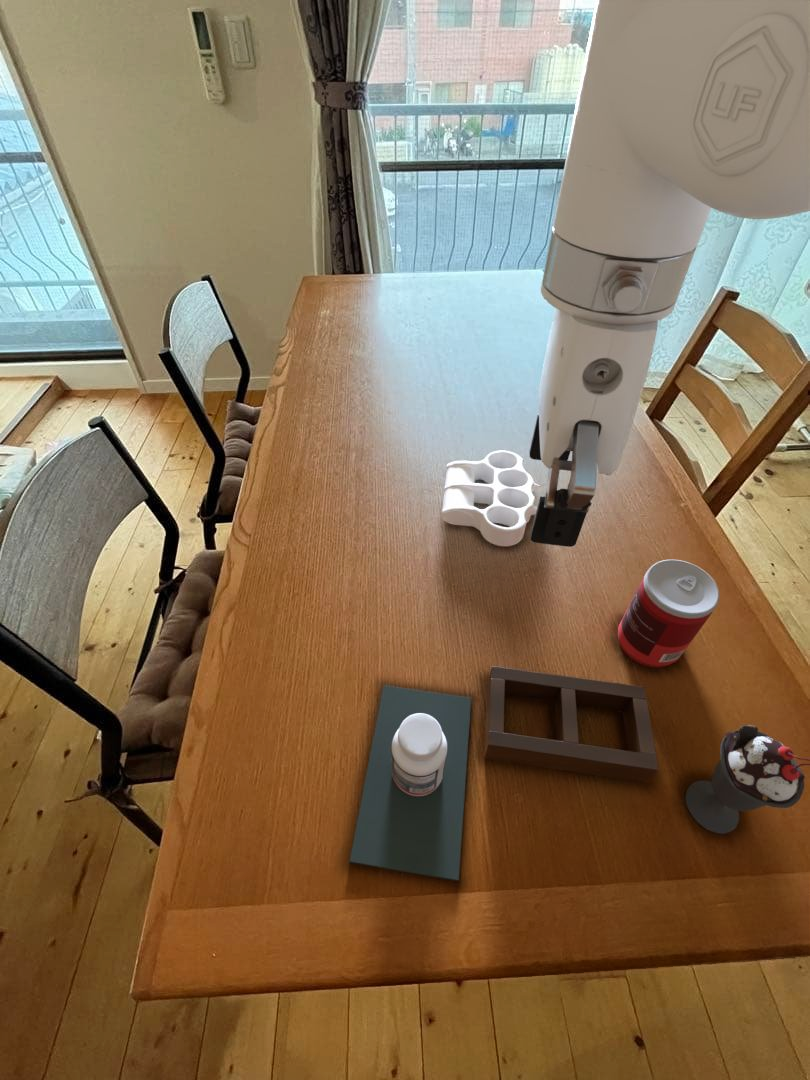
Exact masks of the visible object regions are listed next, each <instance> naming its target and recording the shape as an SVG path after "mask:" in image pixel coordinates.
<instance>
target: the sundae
mask: <svg viewBox="0 0 810 1080" xmlns="http://www.w3.org/2000/svg"><path fill="white" fill-rule="evenodd" d="M719 750H720V753H719V755H720V759H719V761H718V763H717V764H716V766H715V768H714V770H713V773H712V775H711V780H710V781H709V780H697V781H695V782H693V783H691V784H690V785H689V786H688V788H687V790H686V792H685V803H686V807H687V809H688V811H689V814H690V815H691V816H692V818H693V819H694V820H695V821H696V823H698V825H700V826H701V827H703V828H704V829H706V830H707V831H710V832H712V833H716V834H729V833H731V832H732V831H734V830H735V829H736V828H737V826H738V824H739V821H740V814H739V812H748V811H755V810H757V809H759V808H762V807H764V806H768V807H771V808H778V809H788V808H791V807H793V806H794V805H796V804H797V803H798V802H799V801H800V799H801V797H802V795H803V793H804V790H805V778H806V777H805V774H804V773H803V771H802V769H801V767H803V766H810V758H804V757H803V758H802V757H799V756H797V755H795V753H794V751H793V749H792V748H791V747H790V746H785V745H784V743H782V742H780V741H778V740H776V739H774V738H772V737H771V736H769V735H768V734H766V733H764V732H761V731H759V727H758V726H757V725H754V724H753V725H752V724H746V725H745V724H742V725H740V727H739V730H738V729H736V730H734V731H727V732H726V733H725V736H724V737H723V738H722V740H721V743H720V747H719ZM794 758H795V759H798V760H801V761H808V762H809V763H807V762H805V763H804V762H803V763H799V764H798V762H797V761H796V760H795V759H794Z"/></svg>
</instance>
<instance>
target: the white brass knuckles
mask: <svg viewBox="0 0 810 1080" xmlns="http://www.w3.org/2000/svg"><path fill="white" fill-rule="evenodd" d="M524 462H525V460H524V459H523V458H522V457H521V456H520V455H519V454H517V453H515V452H513V451H509V450H495V451H491V452H490V453H489V454H487V455H486V457H485V458H484V459H482V460H479V461H472V460H454V461H451V462H449V463H447V465H446V471H445V482H444V491H443V502H442V510H441V520H442V521H444V522H446V523H447V524H450V525H455V526H463V527H473V528H474V529H476V530H478V531H480V534H481V536H482V537H483V538H484V540H485V541H487V542H488V543H489V544H492V545H494V546H497V547H512V546H514V545H515V546H516V545H517V544H518V543H520V542H521V541H522V540H523V539H524V534H525V530H526V526H527V523H529V522H530V520H531V516H535V515H536V511H537V507H538V506H536V505H535V502H536V497H535V495H534V494H533V492H534V491H535V490H537V489H539V488H540V487H541V485H539V484H537V483H535V481H534V480H533V477H532V475H531V474H530V473H528V472H527V471H526V470H525V468H524ZM478 480H479V481H481V480H482V481H483V482H484V483H478V482H477V483H476V481H478ZM475 504H484V505H485V504H486V505H488V506H487V507H485V508H484V509H480V508H478V507H476V506H475ZM497 524H500V525H497ZM502 525H504V526H502ZM506 526H507V527H506Z"/></svg>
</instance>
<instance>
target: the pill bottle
mask: <svg viewBox="0 0 810 1080" xmlns="http://www.w3.org/2000/svg"><path fill="white" fill-rule="evenodd" d="M446 756H447V741H446V738H445V735H444V733H443V732H442V729H441V726H440V724H439V723H438V722H437V720H436V719H435V718H433V717H432V716H430V715H428V714H424V713H416V714H412V715H410V716H408V717H407V718H406V719H405V720H404V721H403V722H402V723H401V725H400V728H399V729H398V730H397V732H396V733H395V735H394V738H393V741H392V775H393V778H394V781H395V783H396V784H397V786H398V787H399V788H400V789H401V790H402V791H404V792H405V793H407V794H409V795H412V796H424V795H427V794H430V793H431V792H433V791H434V790H435V789H436V788H437V787H438V786H439V784H440V783H441V780H442V778H443V774H444V768H445V761H446Z"/></svg>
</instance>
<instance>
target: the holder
mask: <svg viewBox="0 0 810 1080" xmlns="http://www.w3.org/2000/svg"><path fill="white" fill-rule="evenodd" d="M486 692H487V693H486V694H487V695H486V707H485V708H486V711H485V713H486V714H485V731H484V748H483V749H484V752H483V758H484V759H485V760H491V761H498V762H506V763H512V764H519V765H524V766H531V767H536V768H537V767H538V768H544V769H552V770H559V771H563V772H564V771H566V772H569V773H570V772H571V773H578V774H585V775H592V776H597V777H603V778H604V777H605V778H610V779H617V780H623V781H631V782H636V783H643V784H647V783H649V782H650V780H651V779H652V778H653V777H654V776H655V775H656V773H657V772H658V771H659V764H658V758H657V753H656V747H655V741H654V735H653V728H652V722H651V717H650V711H649V704H648V699H647V698H648V697H647V693H646V687H645V686H641V685H632V684H627V683H617V682H611V681H604V680H597V679H589V678H582V677H581V678H580V677H576V676H575V677H574V676H567V675H561V674H553V673H546V672H538V671H531V670H525V669H524V670H523V669H517V668H515V669H514V668H509V667H503V666H502V667H501V666H494V665H492V666H491V668H490V672H489V676H488V680H487V691H486ZM505 697H513V698H517V699H518V698H519V699H526V700H533V701H540V702H548V703H553V705H554V728H555V739H549V738H542V737H535V736H528V735H522V734H514V733H509V732H505V727H504V726H505ZM577 707H583V708H591V709H597V710H604V711H611V712H619V713H622V716H623V724H624V733H625V739H626V746H627V750H623V749H617V748H610V747H603V746H596V745H589V744H582V743H580V740H579V728H578V727H579V725H578V711H577Z"/></svg>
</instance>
